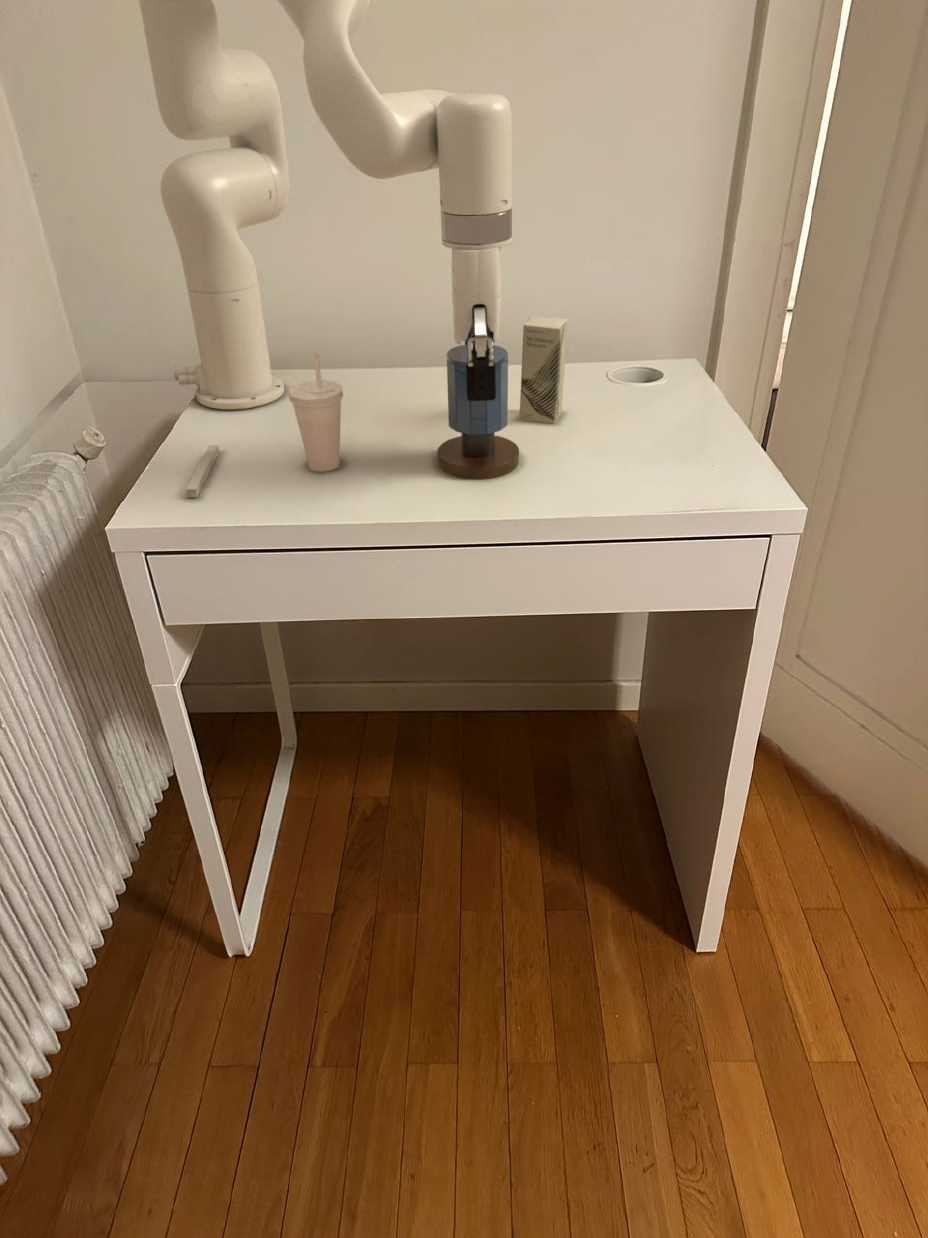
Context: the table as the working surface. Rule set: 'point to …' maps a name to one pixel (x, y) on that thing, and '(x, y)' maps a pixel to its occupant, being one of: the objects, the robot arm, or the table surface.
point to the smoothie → (319, 419)
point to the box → (543, 368)
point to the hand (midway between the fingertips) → (480, 384)
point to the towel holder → (478, 456)
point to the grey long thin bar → (202, 471)
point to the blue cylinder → (476, 413)
